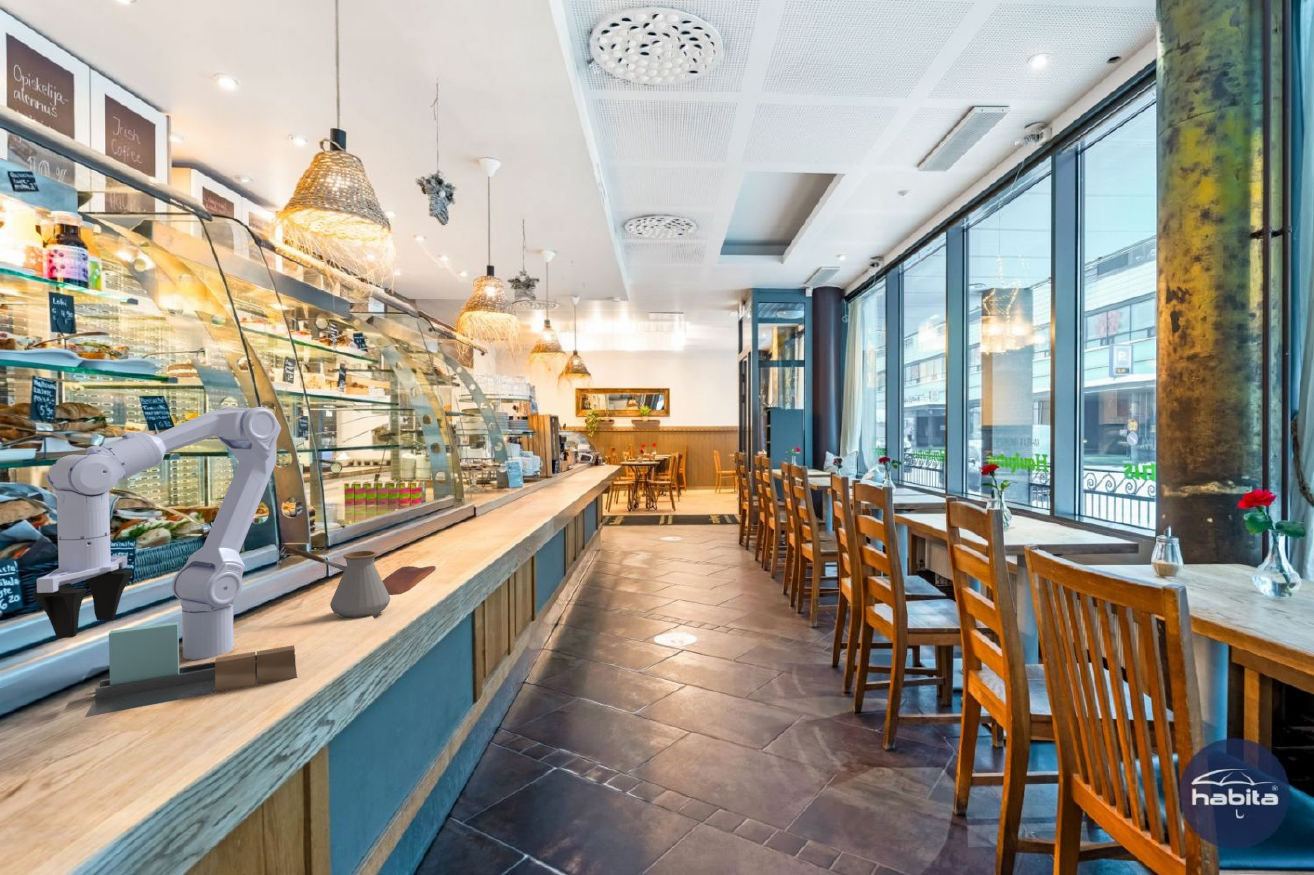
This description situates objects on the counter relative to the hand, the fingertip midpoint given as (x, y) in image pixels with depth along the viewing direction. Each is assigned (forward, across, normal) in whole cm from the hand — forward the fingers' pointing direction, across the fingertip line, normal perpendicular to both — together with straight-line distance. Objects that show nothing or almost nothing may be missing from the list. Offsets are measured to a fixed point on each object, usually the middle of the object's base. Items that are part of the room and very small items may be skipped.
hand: (86, 627), depth 94 cm
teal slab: (+9, +1, -7) cm, 12 cm away
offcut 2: (+9, +1, -25) cm, 27 cm away
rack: (+10, +2, -15) cm, 18 cm away
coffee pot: (+11, +36, -22) cm, 44 cm away
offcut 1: (+9, -1, -21) cm, 23 cm away
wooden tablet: (+11, +64, -28) cm, 70 cm away
